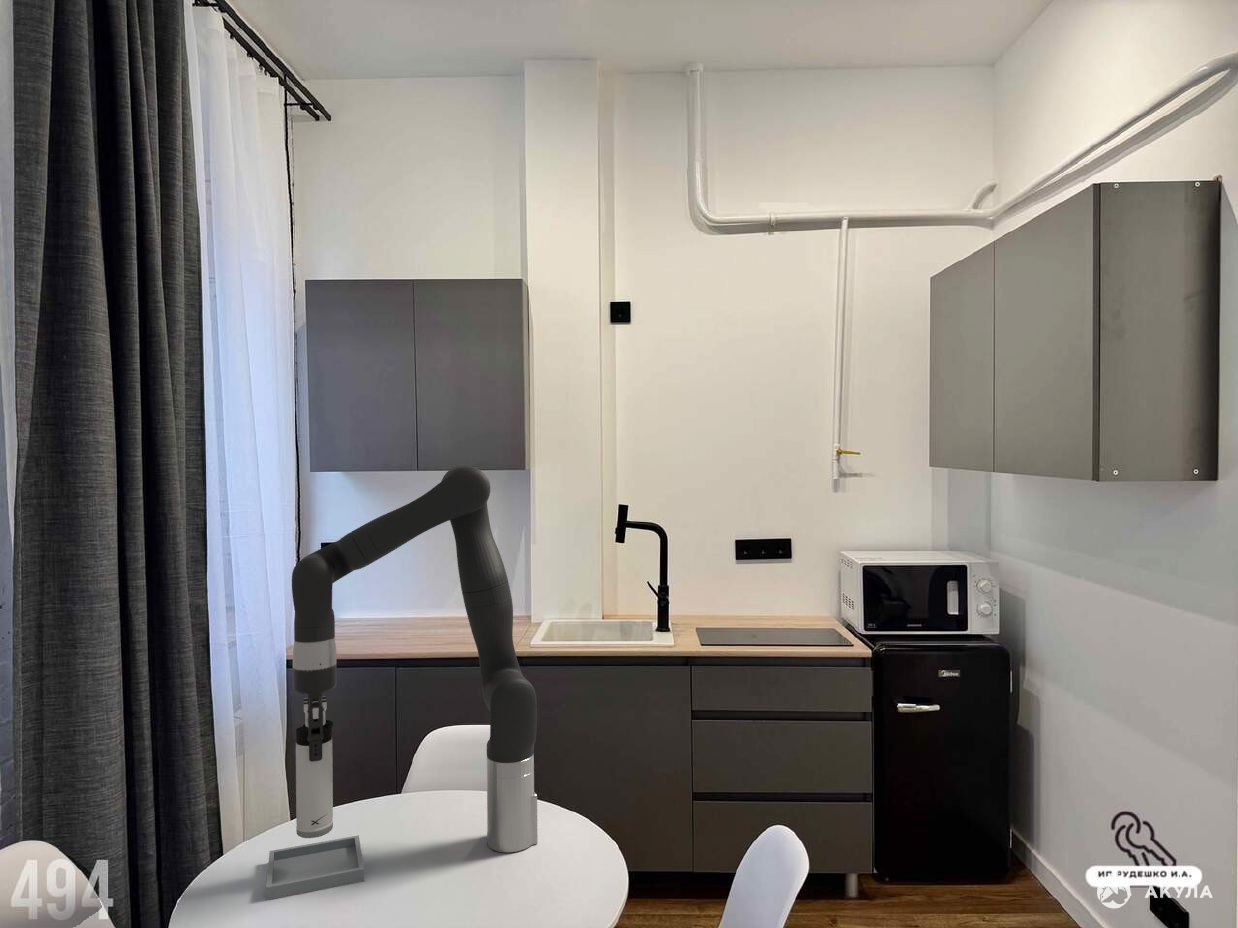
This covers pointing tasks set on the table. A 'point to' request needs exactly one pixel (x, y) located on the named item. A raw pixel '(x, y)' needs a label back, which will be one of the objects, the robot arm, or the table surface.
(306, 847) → the tray
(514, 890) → the table surface
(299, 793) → the travel mug
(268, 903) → the table surface
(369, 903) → the table surface
